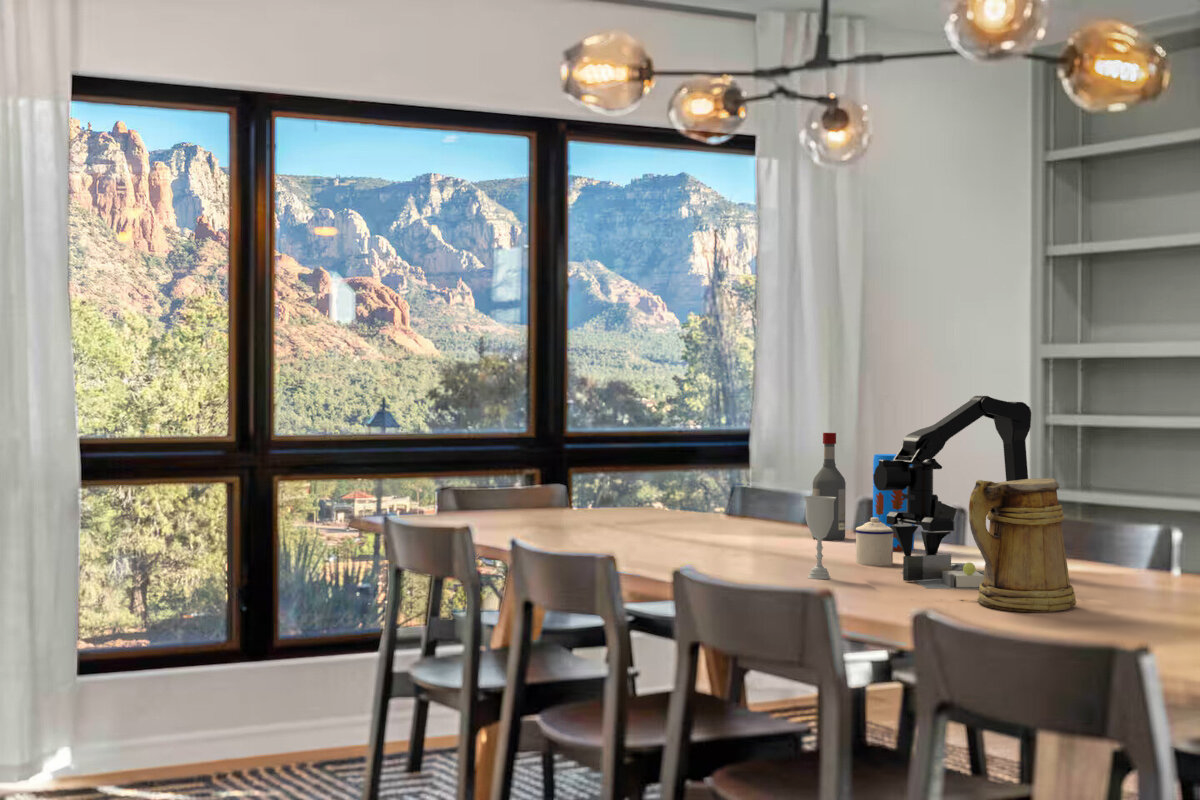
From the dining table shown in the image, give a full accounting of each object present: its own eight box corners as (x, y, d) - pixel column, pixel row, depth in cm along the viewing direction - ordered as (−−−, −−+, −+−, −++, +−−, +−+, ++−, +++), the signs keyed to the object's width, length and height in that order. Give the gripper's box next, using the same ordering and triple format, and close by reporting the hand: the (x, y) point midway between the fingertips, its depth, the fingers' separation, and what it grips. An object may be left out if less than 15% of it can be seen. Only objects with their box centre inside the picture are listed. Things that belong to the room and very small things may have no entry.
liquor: (812, 540, 394) (812, 433, 394) (812, 536, 403) (813, 432, 403) (845, 540, 393) (846, 433, 393) (844, 537, 402) (845, 432, 402)
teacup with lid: (901, 568, 333) (901, 519, 333) (866, 569, 330) (867, 519, 330) (875, 562, 344) (875, 514, 344) (842, 563, 341) (842, 515, 341)
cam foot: (974, 582, 303) (975, 558, 303) (985, 587, 295) (985, 563, 295) (946, 581, 303) (947, 558, 303) (956, 587, 295) (956, 563, 295)
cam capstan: (898, 580, 305) (898, 555, 305) (964, 575, 313) (965, 551, 313) (925, 585, 297) (925, 559, 297) (992, 580, 305) (993, 555, 305)
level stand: (996, 576, 319) (997, 560, 319) (1032, 592, 293) (1032, 575, 293) (900, 575, 319) (900, 559, 319) (927, 592, 293) (927, 574, 293)
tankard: (1096, 609, 272) (1097, 480, 272) (1006, 617, 261) (1007, 483, 260) (1026, 596, 288) (1027, 474, 288) (938, 604, 277) (940, 477, 276)
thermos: (918, 551, 368) (918, 456, 368) (876, 551, 368) (877, 455, 368) (909, 546, 379) (910, 454, 378) (869, 546, 379) (870, 453, 379)
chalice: (839, 576, 317) (839, 496, 317) (831, 580, 310) (831, 498, 310) (807, 574, 320) (808, 495, 320) (798, 578, 314) (799, 497, 313)
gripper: (975, 492, 306) (975, 563, 306) (927, 486, 324) (927, 553, 324) (931, 493, 303) (931, 565, 303) (885, 487, 320) (885, 555, 320)
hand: (919, 559), depth 312 cm, fingers open, 9 cm apart
